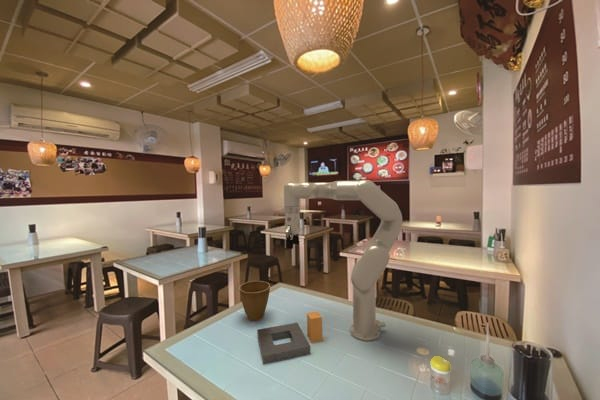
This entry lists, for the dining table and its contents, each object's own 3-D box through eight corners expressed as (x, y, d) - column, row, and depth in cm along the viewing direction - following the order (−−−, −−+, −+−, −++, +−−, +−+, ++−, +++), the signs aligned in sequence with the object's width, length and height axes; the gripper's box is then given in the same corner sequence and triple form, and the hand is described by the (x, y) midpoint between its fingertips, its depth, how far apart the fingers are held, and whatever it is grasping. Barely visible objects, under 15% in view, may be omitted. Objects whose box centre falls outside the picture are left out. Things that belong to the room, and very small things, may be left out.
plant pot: (234, 324, 117) (233, 290, 116) (248, 309, 131) (247, 279, 131) (264, 327, 114) (263, 293, 113) (274, 312, 128) (274, 281, 127)
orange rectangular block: (318, 333, 108) (317, 311, 107) (322, 340, 103) (322, 317, 103) (307, 336, 106) (306, 313, 106) (311, 342, 102) (310, 319, 101)
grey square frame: (297, 328, 112) (297, 322, 112) (310, 353, 95) (310, 346, 95) (257, 336, 107) (257, 329, 107) (263, 364, 90) (263, 356, 89)
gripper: (294, 211, 106) (295, 250, 107) (304, 208, 123) (304, 242, 124) (278, 211, 108) (278, 250, 109) (290, 208, 125) (290, 242, 126)
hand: (292, 246), depth 116 cm, fingers open, 9 cm apart
